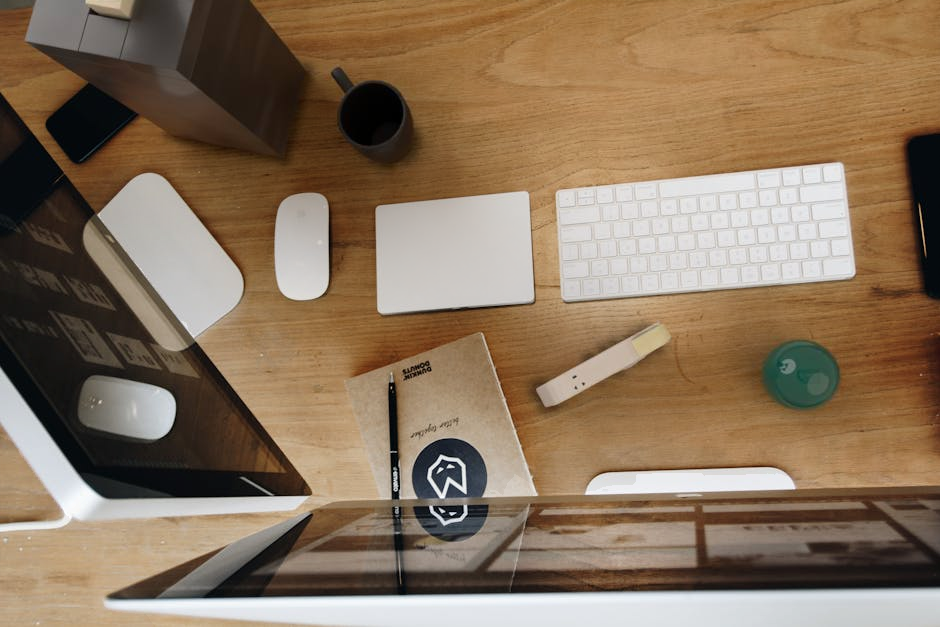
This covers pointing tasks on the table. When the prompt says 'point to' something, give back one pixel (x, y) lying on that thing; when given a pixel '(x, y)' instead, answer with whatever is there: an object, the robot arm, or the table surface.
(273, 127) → the piano
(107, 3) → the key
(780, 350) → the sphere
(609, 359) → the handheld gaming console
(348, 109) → the mug
